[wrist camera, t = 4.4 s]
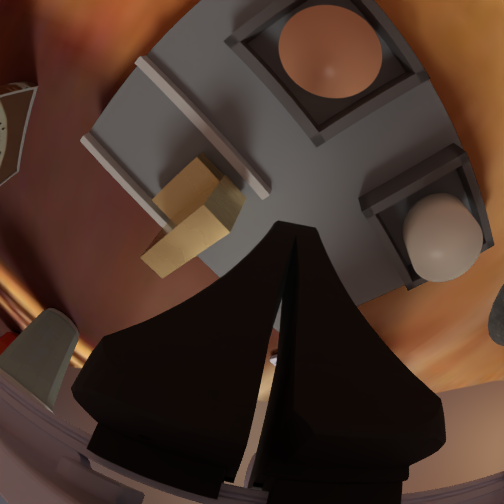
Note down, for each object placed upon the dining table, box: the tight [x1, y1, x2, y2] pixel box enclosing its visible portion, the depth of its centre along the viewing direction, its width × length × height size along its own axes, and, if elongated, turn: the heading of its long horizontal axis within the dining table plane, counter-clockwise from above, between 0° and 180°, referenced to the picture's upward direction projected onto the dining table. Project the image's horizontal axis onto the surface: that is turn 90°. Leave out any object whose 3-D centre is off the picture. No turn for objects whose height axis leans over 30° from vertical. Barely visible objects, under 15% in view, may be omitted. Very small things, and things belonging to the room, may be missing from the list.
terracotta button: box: [279, 5, 382, 98], centre depth 10 cm, size 4×4×2 cm
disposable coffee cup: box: [0, 308, 79, 413], centre depth 29 cm, size 11×11×15 cm
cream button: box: [402, 193, 483, 282], centre depth 12 cm, size 4×4×2 cm
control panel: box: [80, 0, 494, 332], centre depth 15 cm, size 20×17×4 cm
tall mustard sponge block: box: [140, 152, 246, 279], centre depth 14 cm, size 3×5×4 cm, turn 131°
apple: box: [0, 332, 19, 355], centre depth 44 cm, size 10×10×12 cm
